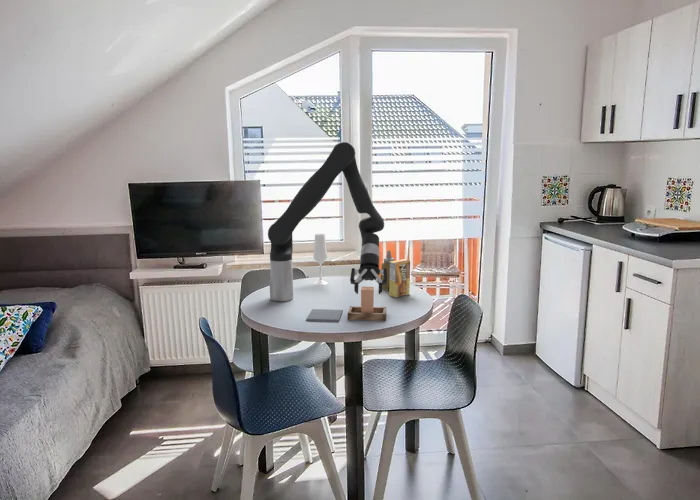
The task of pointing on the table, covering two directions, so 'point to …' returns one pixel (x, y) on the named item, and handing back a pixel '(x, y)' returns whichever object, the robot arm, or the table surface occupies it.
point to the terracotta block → (367, 300)
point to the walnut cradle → (367, 314)
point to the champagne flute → (320, 254)
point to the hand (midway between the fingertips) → (368, 292)
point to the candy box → (399, 278)
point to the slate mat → (324, 315)
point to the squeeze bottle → (387, 266)
